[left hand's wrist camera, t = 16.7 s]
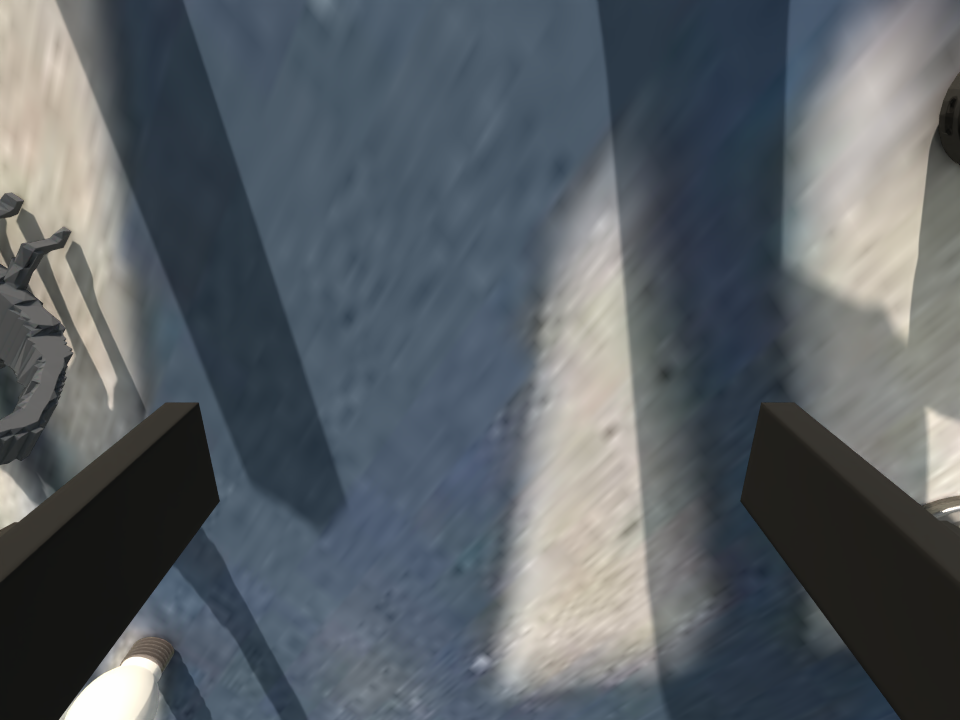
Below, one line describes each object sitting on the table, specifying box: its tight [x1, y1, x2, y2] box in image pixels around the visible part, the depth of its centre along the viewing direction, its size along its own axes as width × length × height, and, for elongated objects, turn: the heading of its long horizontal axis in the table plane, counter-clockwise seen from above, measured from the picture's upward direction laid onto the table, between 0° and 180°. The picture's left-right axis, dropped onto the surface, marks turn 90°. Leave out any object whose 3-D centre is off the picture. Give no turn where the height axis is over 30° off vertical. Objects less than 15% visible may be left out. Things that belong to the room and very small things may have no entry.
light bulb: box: [65, 637, 174, 720], centre depth 49 cm, size 7×7×11 cm
